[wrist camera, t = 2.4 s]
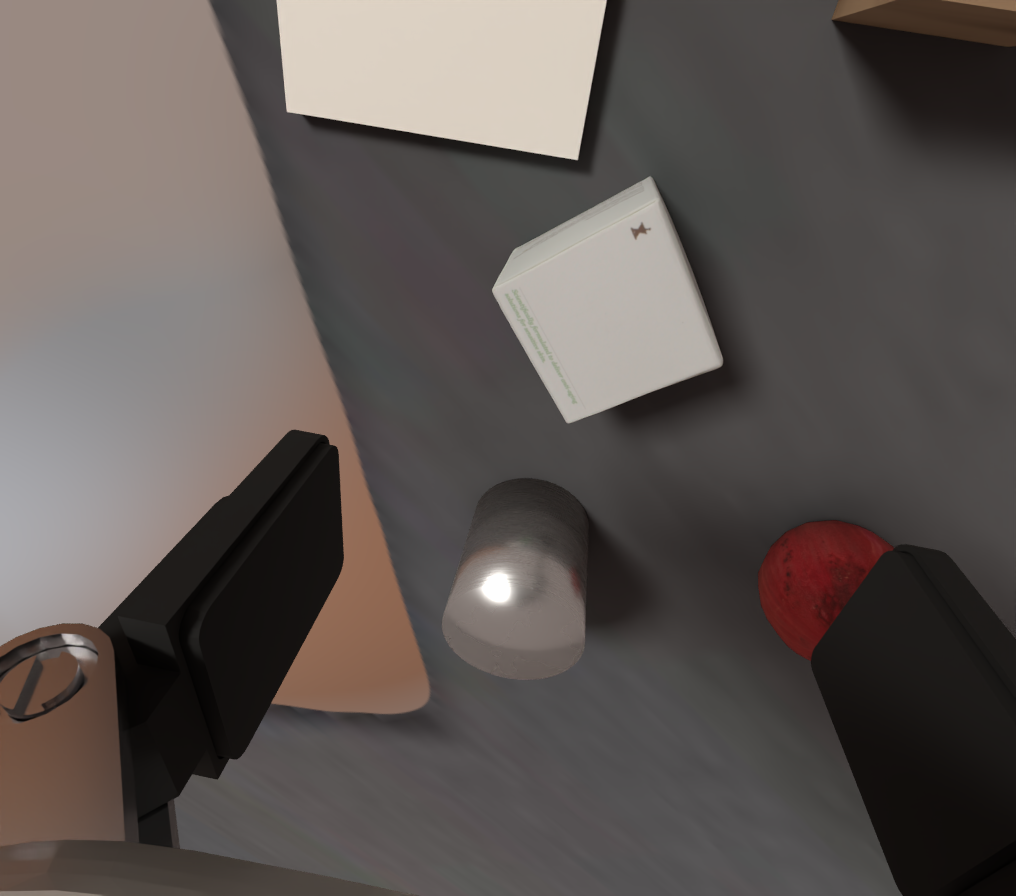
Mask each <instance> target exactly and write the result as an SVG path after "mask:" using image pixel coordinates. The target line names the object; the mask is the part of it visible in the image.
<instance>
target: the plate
mask: <svg viewBox="0 0 1016 896" xmlns="http://www.w3.org/2000/svg"><path fill="white" fill-rule="evenodd" d="M606 4H607V0H277V9H278V20H279V31H280V42H281V53H282V64H283V74H284V85H285V96H286V107H287V112H292V113H298V114H304V115H310V116H316V117H322V118H328V119H334V120H340V121H346V122H352V123H358V124H364V125H370V126H376V127H382V128H388V129H394V130H400V131H406V132H412V133H418V134H424V135H430V136H436V137H442V138H448V139H454V140H460V141H466V142H472V143H478V144H484V145H490V146H496V147H502V148H508V149H514V150H520V151H526V152H532V153H538V154H544V155H550V156H556V157H562V158H568V159H574V160H578V157H579V152H580V146H581V141H582V135H583V130H584V124H585V119H586V114H587V108H588V103H589V97H590V92H591V86H592V81H593V75H594V70H595V64H596V59H597V53H598V48H599V42H600V37H601V31H602V26H603V20H604V15H605V9H606Z"/></svg>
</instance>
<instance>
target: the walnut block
mask: <svg viewBox="0 0 1016 896" xmlns="http://www.w3.org/2000/svg"><path fill="white" fill-rule="evenodd" d="M832 20H836V21H842V22H849V23H855V24H862V25H868V26H875V27H881V28H888V29H894V30H901V31H907V32H914V33H920V34H927V35H933V36H940V37H947V38H953V39H960V40H966V41H973V42H979V43H986V44H992V45H999V46H1005V47H1012V46H1016V0H839V1H838V4H837V7H836V9H835V12H834V14H833V17H832Z"/></svg>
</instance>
